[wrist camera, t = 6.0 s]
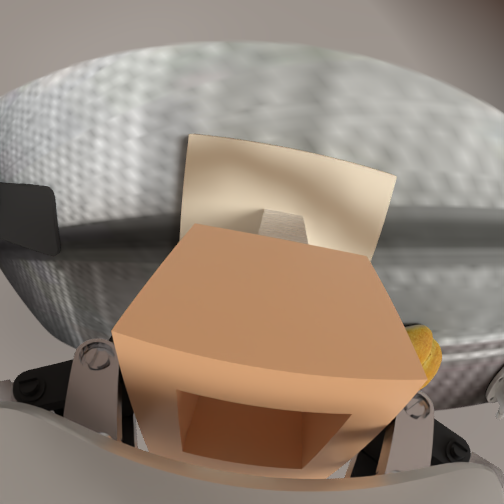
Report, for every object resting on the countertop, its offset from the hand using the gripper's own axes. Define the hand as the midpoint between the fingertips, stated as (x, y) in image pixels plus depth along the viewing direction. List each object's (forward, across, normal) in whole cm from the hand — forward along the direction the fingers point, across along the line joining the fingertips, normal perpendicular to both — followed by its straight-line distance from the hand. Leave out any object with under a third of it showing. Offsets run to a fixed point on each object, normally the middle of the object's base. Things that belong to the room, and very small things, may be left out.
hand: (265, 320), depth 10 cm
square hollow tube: (+1, 0, 0) cm, 1 cm away
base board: (+11, 0, +5) cm, 12 cm away
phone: (+12, +28, +4) cm, 30 cm away
